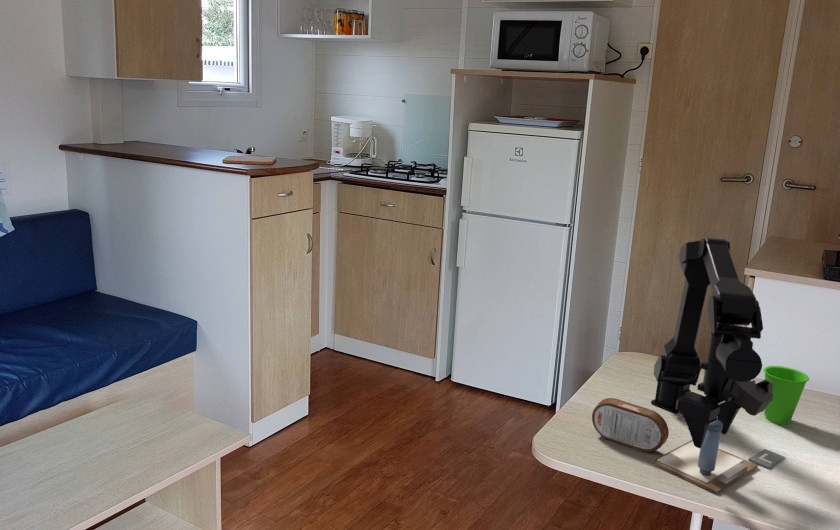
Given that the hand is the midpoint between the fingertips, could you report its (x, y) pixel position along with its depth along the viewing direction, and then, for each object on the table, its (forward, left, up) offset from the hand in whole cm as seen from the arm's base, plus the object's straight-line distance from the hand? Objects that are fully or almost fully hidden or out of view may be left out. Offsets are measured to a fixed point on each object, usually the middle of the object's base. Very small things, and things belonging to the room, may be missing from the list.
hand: (710, 440), depth 131 cm
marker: (0, 0, -7) cm, 7 cm away
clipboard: (-2, +4, -8) cm, 9 cm away
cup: (-3, +38, -8) cm, 39 cm away
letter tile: (+4, +17, -8) cm, 19 cm away
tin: (-16, -1, -8) cm, 18 cm away
